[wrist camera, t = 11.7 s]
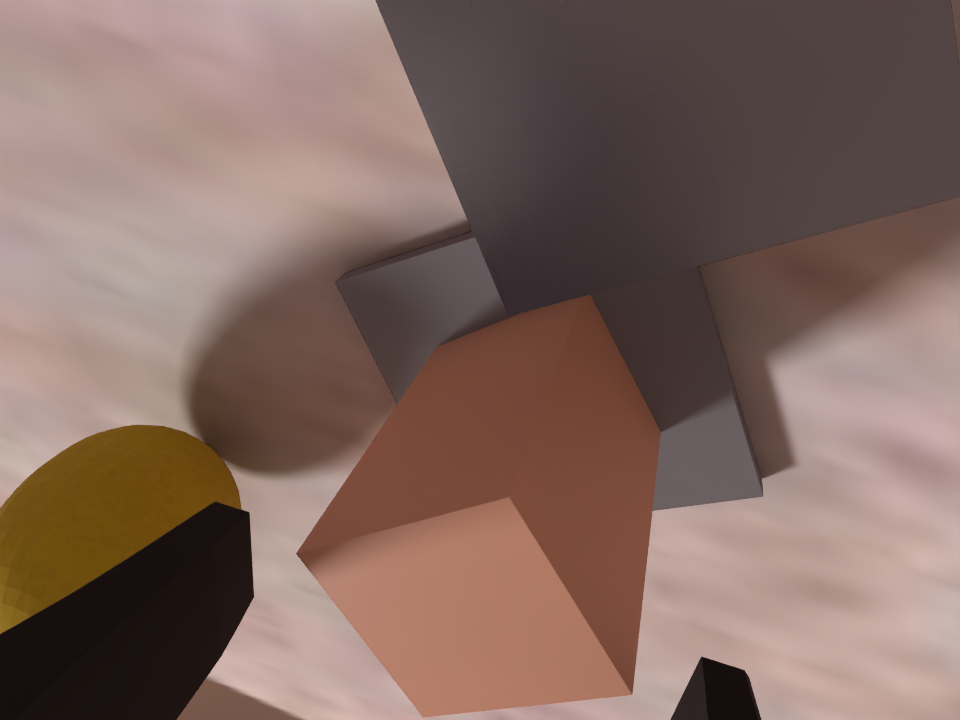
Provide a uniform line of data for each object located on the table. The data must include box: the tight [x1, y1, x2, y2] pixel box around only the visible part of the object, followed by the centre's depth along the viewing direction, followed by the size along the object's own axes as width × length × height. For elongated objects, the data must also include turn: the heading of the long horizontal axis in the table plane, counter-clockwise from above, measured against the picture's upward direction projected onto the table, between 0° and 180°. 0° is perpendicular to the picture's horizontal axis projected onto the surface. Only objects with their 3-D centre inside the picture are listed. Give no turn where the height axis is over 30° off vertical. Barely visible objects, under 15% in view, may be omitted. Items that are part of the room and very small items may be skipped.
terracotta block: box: [296, 295, 661, 717], centre depth 14 cm, size 4×4×7 cm
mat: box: [335, 231, 763, 511], centre depth 17 cm, size 8×8×1 cm
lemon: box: [0, 425, 241, 634], centre depth 19 cm, size 6×6×8 cm
